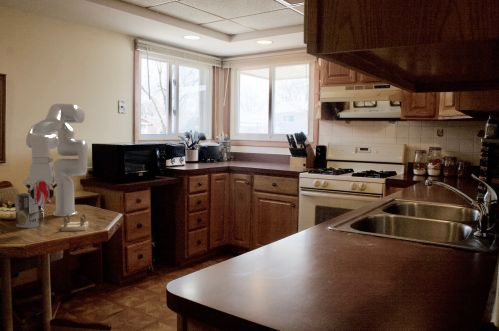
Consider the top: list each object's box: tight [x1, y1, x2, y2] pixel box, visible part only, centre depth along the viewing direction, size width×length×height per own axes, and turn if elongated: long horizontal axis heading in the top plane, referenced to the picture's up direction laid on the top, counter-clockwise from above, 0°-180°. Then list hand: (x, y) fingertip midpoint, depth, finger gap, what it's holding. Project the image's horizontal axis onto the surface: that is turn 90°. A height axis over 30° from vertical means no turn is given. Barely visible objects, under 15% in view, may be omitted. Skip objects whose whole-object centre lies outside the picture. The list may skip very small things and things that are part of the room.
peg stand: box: [60, 213, 89, 232], centre depth 205 cm, size 11×11×6 cm
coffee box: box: [14, 192, 40, 229], centre depth 207 cm, size 9×6×16 cm
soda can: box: [34, 181, 52, 207], centre depth 198 cm, size 7×7×12 cm
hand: (42, 197), depth 198 cm, fingers closed on soda can, 7 cm apart
